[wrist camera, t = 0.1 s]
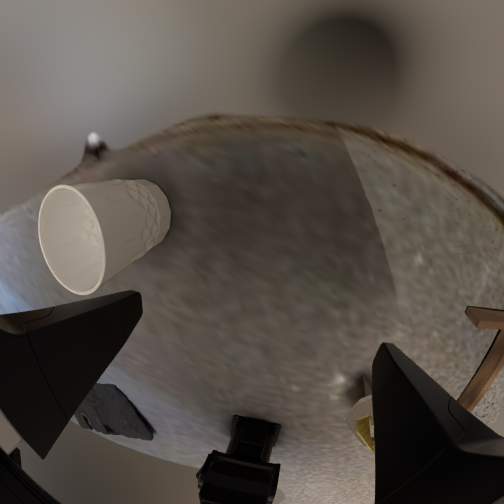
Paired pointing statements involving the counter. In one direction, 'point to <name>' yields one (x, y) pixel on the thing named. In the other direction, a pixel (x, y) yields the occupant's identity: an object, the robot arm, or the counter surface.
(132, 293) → the robot arm
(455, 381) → the counter surface
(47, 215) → the white cup
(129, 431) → the dark slate chunk
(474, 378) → the frame
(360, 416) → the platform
